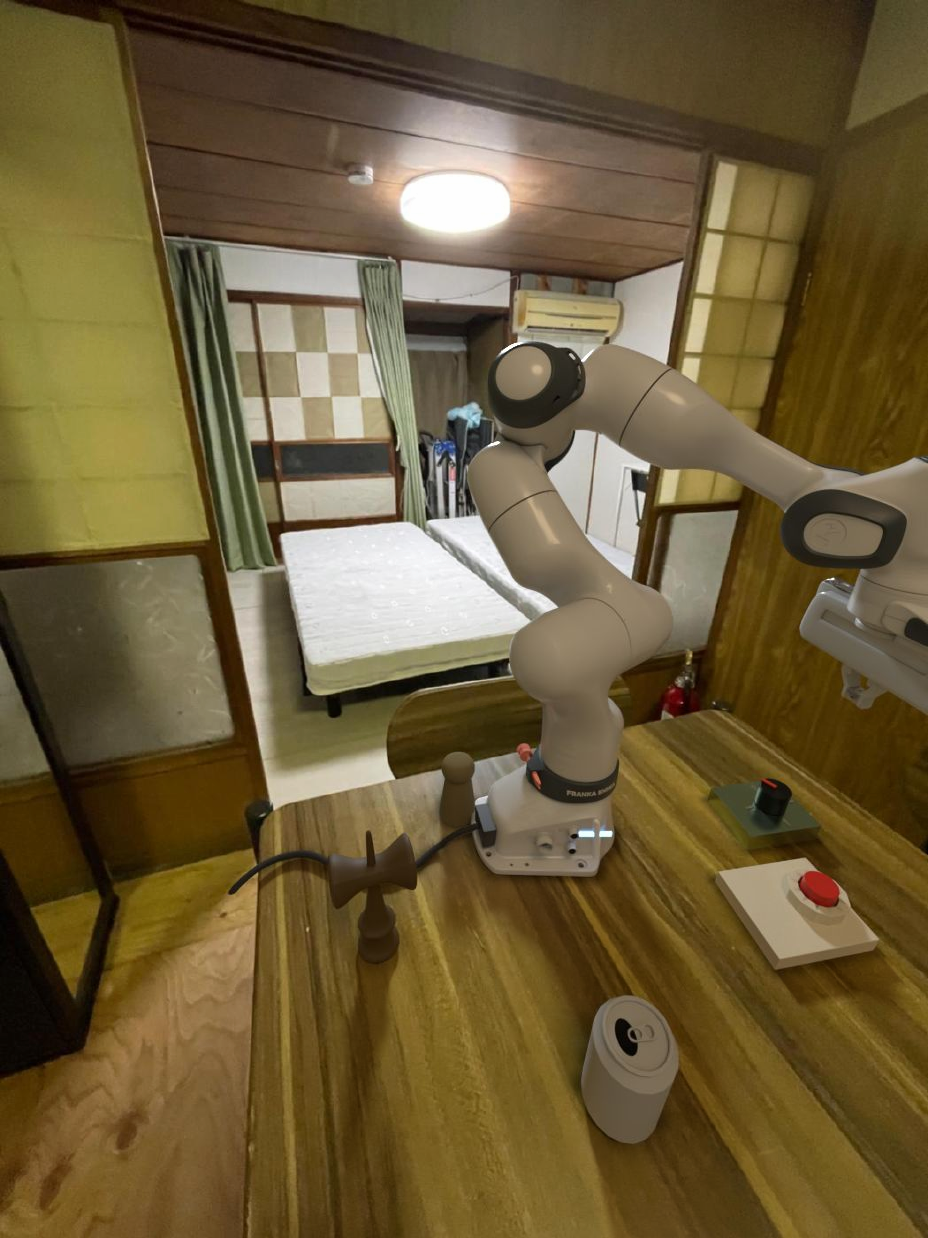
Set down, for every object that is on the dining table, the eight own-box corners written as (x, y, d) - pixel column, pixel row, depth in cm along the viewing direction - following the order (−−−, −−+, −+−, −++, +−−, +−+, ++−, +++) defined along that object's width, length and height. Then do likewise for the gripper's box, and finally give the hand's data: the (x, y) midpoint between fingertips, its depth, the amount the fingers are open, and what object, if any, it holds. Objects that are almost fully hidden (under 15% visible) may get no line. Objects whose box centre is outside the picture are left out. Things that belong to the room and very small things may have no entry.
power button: (815, 909, 65) (820, 900, 64) (792, 881, 69) (796, 872, 68) (843, 904, 66) (847, 895, 65) (818, 877, 69) (822, 868, 68)
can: (571, 1055, 54) (584, 989, 49) (639, 1048, 55) (660, 983, 49) (593, 1152, 47) (611, 1089, 42) (671, 1144, 48) (699, 1080, 43)
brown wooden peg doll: (473, 828, 80) (474, 775, 76) (435, 823, 81) (434, 770, 76) (478, 800, 86) (480, 748, 81) (443, 795, 87) (443, 743, 82)
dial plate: (746, 850, 77) (751, 835, 76) (707, 800, 86) (711, 786, 85) (815, 839, 79) (822, 825, 78) (770, 792, 88) (775, 778, 87)
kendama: (422, 956, 63) (418, 841, 54) (342, 982, 60) (324, 865, 51) (411, 911, 68) (406, 800, 59) (337, 934, 65) (320, 820, 56)
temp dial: (790, 807, 81) (797, 789, 79) (777, 820, 79) (784, 802, 77) (762, 790, 84) (768, 772, 83) (749, 802, 82) (755, 784, 80)
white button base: (774, 970, 62) (784, 950, 60) (714, 882, 72) (721, 862, 71) (873, 950, 64) (885, 930, 62) (801, 867, 75) (809, 848, 73)
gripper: (804, 573, 68) (775, 662, 74) (964, 648, 50) (908, 758, 56) (845, 570, 69) (813, 659, 75) (1016, 643, 51) (955, 751, 57)
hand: (855, 702), depth 66 cm, fingers closed
